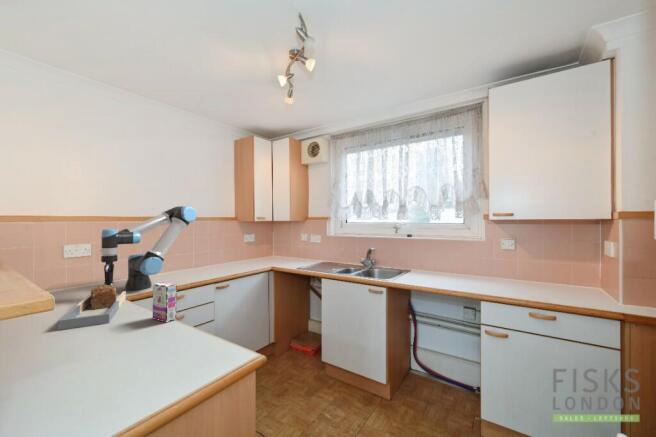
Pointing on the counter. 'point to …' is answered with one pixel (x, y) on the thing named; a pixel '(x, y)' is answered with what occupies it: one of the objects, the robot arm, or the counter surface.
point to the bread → (103, 296)
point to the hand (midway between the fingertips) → (108, 294)
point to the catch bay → (72, 322)
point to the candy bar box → (164, 301)
